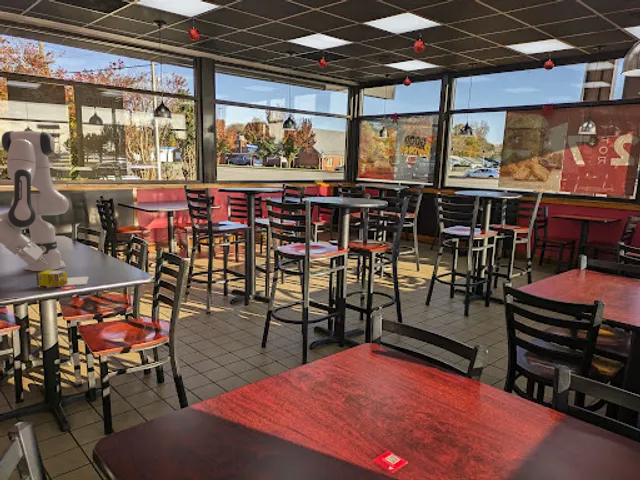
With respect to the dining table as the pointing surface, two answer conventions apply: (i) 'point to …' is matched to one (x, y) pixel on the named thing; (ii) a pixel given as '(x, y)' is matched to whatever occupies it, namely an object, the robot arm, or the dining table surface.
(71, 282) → the mat
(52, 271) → the supplement box
